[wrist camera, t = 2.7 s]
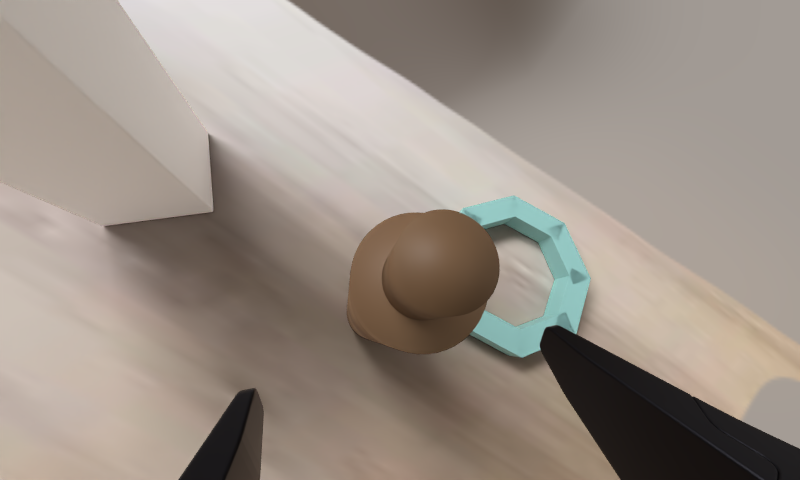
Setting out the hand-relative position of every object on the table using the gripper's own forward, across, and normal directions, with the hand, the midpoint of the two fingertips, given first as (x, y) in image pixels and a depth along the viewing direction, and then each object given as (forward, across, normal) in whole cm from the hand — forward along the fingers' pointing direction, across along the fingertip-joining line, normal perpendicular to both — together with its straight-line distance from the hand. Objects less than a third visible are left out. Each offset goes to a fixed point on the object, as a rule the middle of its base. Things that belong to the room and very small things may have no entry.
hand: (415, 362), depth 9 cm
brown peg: (+8, 0, +5) cm, 10 cm away
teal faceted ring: (+9, -10, +5) cm, 14 cm away
